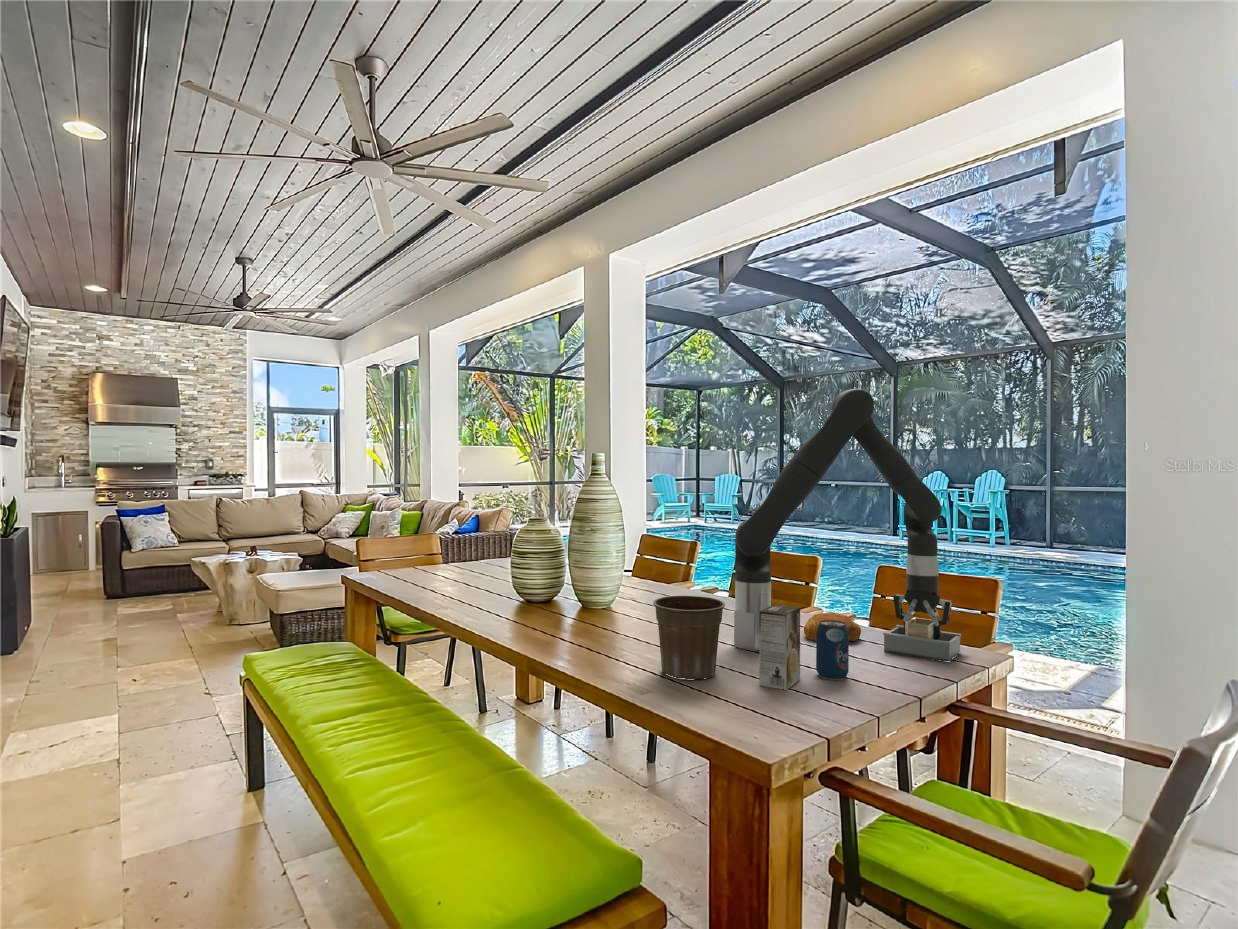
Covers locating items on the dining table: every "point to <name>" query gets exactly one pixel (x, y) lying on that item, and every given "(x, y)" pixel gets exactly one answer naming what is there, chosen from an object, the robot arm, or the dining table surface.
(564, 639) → the dining table surface
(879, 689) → the dining table surface
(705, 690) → the dining table surface
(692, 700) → the dining table surface
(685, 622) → the plant pot
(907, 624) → the small crate
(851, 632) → the croissant
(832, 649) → the soda can
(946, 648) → the box
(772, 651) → the coffee box
